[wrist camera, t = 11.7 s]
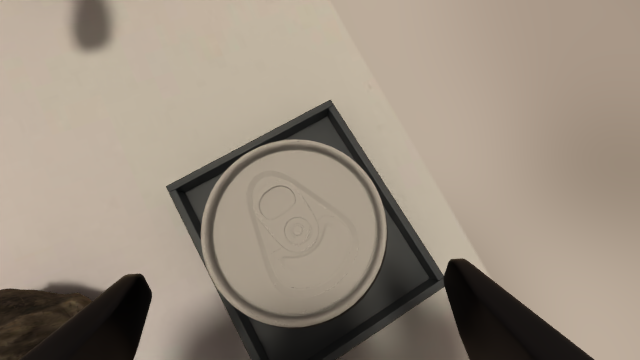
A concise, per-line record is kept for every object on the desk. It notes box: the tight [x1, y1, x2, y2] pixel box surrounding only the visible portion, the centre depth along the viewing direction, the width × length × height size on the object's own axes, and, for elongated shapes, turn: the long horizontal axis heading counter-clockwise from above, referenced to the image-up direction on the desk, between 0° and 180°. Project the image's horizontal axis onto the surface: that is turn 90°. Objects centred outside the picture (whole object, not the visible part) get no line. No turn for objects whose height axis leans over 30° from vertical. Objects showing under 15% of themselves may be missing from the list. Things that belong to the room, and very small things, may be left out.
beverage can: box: [201, 139, 388, 329], centre depth 15 cm, size 7×7×12 cm
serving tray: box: [166, 100, 445, 360], centre depth 20 cm, size 15×13×2 cm
